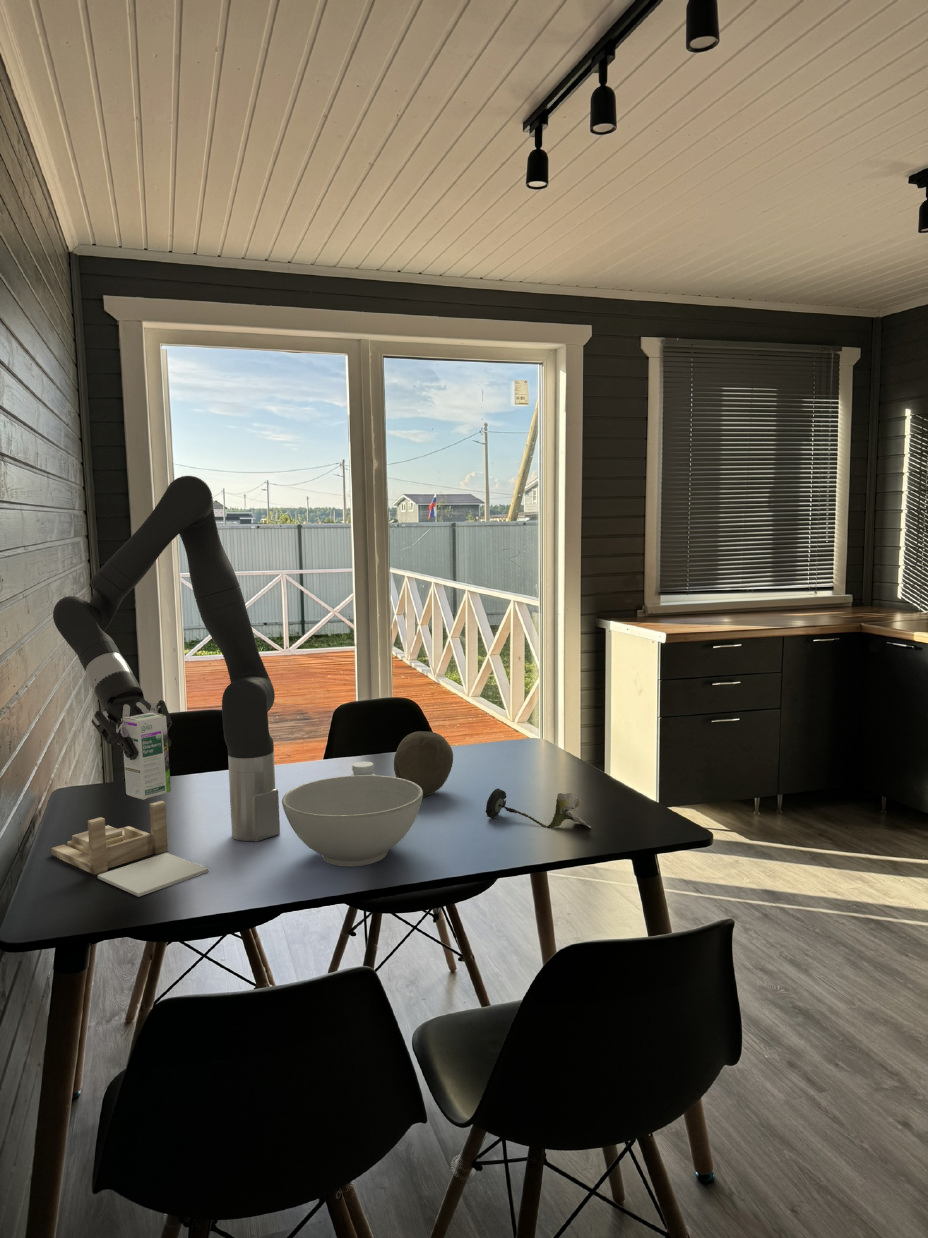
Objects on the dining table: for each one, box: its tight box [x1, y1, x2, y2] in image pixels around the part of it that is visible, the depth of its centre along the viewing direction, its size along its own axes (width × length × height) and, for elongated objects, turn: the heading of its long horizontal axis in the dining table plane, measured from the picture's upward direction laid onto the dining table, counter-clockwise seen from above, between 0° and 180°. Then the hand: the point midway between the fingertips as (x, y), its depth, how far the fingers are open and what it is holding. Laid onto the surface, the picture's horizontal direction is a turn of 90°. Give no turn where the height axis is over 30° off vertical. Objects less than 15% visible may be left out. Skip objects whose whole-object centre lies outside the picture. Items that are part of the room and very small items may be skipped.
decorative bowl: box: [281, 774, 424, 868], centre depth 164 cm, size 27×27×12 cm
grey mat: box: [97, 852, 210, 898], centre depth 156 cm, size 14×14×1 cm
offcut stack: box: [66, 824, 125, 852], centre depth 171 cm, size 7×9×3 cm
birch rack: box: [50, 800, 169, 876], centre depth 168 cm, size 17×15×10 cm
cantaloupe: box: [393, 730, 454, 797], centre depth 203 cm, size 14×14×15 cm
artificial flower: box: [485, 788, 592, 829], centre depth 180 cm, size 9×22×10 cm, turn 58°
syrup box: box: [121, 712, 172, 801], centre depth 155 cm, size 6×6×14 cm
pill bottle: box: [350, 761, 376, 776], centre depth 188 cm, size 6×6×12 cm
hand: (151, 753), depth 154 cm, fingers closed on syrup box, 5 cm apart
